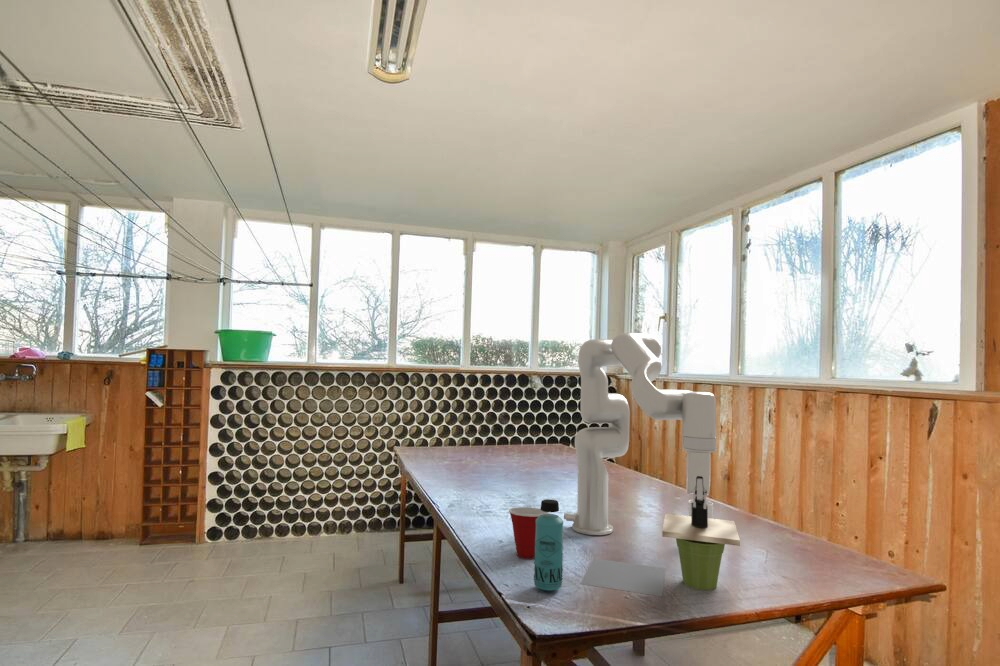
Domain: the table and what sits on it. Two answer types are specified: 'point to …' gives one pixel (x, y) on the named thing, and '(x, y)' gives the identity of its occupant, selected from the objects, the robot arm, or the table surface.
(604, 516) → the robot arm
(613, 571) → the mat
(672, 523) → the lid
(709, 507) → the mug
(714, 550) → the plant pot
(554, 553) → the beverage bottle
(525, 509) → the plastic cup
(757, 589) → the table surface
